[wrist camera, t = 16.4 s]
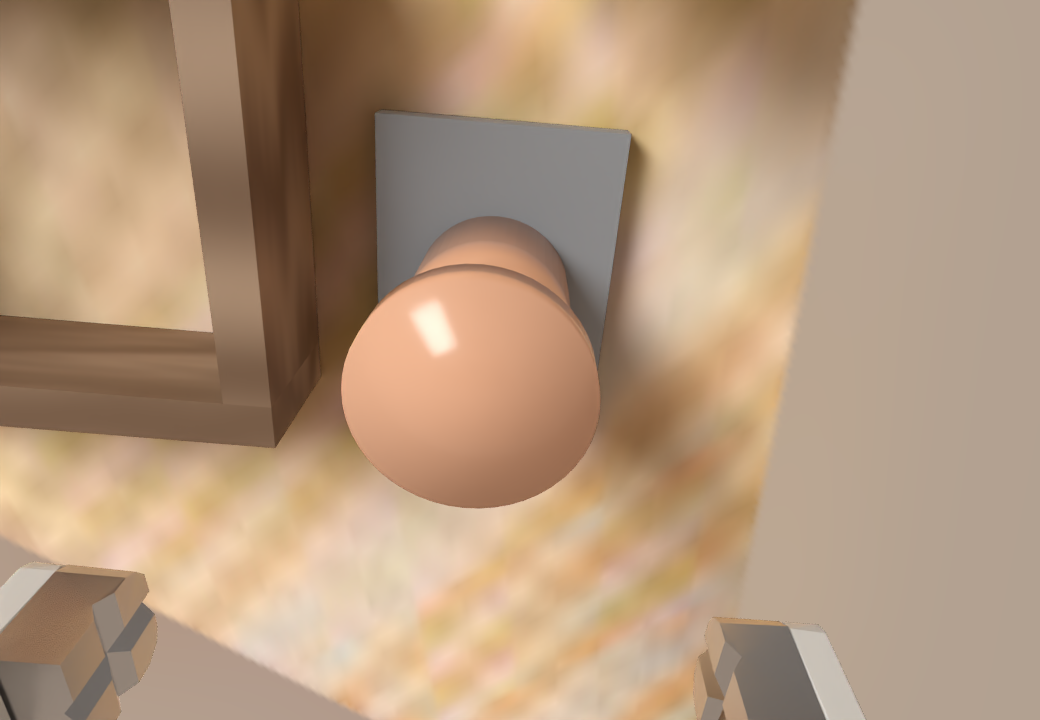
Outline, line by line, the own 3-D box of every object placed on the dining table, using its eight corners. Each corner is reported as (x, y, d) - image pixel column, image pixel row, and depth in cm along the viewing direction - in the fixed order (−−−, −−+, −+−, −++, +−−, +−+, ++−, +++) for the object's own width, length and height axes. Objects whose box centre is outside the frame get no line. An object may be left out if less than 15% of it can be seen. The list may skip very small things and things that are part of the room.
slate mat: (381, 109, 22) (374, 112, 21) (627, 130, 22) (631, 134, 21) (385, 404, 27) (379, 417, 26) (586, 420, 27) (588, 433, 26)
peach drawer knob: (405, 191, 22) (337, 267, 15) (594, 210, 22) (619, 294, 15) (402, 362, 25) (344, 496, 17) (570, 378, 25) (582, 518, 17)
